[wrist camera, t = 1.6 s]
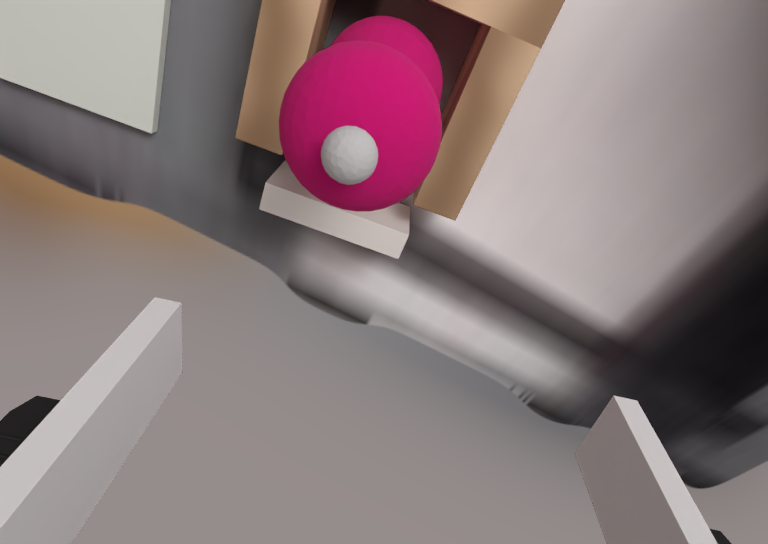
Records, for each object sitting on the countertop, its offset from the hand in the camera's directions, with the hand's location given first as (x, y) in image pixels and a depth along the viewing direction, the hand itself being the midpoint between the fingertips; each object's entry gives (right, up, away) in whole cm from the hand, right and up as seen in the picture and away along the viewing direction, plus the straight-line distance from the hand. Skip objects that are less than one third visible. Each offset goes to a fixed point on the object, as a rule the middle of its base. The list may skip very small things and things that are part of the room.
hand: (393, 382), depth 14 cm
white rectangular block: (-3, +9, +21) cm, 23 cm away
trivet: (-20, +20, +16) cm, 33 cm away
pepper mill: (0, +17, +17) cm, 24 cm away
